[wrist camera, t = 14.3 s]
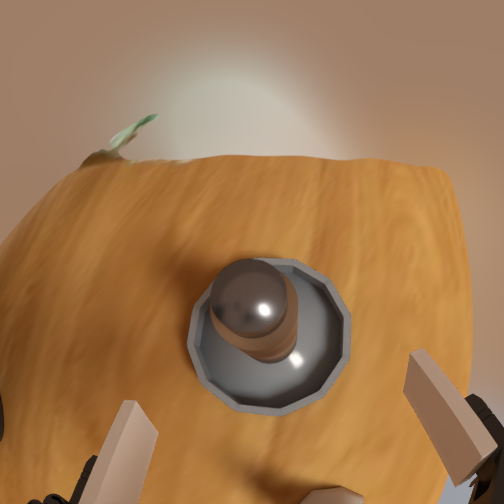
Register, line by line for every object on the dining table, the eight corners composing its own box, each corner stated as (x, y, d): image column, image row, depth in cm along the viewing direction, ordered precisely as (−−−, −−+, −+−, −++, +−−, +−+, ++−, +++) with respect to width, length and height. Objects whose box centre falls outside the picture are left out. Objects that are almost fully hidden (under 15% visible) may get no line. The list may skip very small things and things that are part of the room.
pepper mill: (239, 360, 25) (191, 337, 13) (246, 309, 27) (209, 247, 16) (294, 365, 24) (294, 347, 12) (299, 313, 26) (301, 250, 15)
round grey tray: (187, 399, 24) (178, 400, 22) (209, 265, 31) (203, 255, 29) (340, 415, 21) (345, 418, 19) (346, 270, 28) (350, 260, 26)
